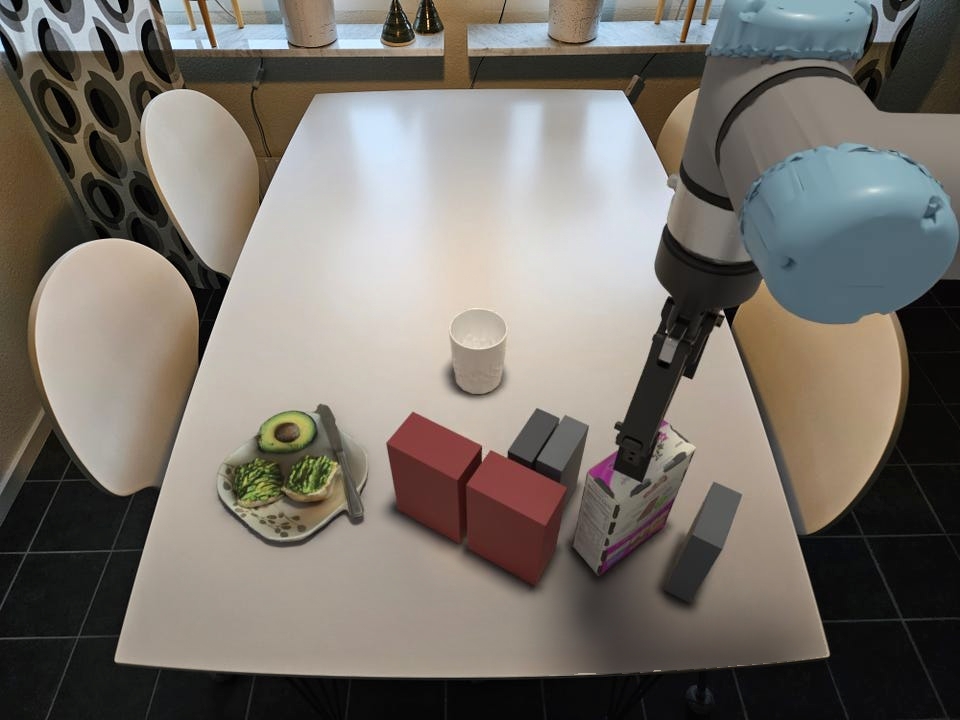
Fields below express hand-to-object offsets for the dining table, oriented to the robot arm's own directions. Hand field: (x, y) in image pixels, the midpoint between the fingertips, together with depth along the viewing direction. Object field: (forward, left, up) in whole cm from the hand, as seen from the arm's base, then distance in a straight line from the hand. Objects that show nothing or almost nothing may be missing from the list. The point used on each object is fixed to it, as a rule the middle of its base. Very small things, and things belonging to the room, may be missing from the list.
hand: (656, 419), depth 60 cm
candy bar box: (0, 0, -23) cm, 23 cm away
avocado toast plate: (-13, +38, -23) cm, 47 cm away
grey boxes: (0, +2, -23) cm, 23 cm away
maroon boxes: (-8, +15, -23) cm, 28 cm away
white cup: (+13, +27, -23) cm, 37 cm away
